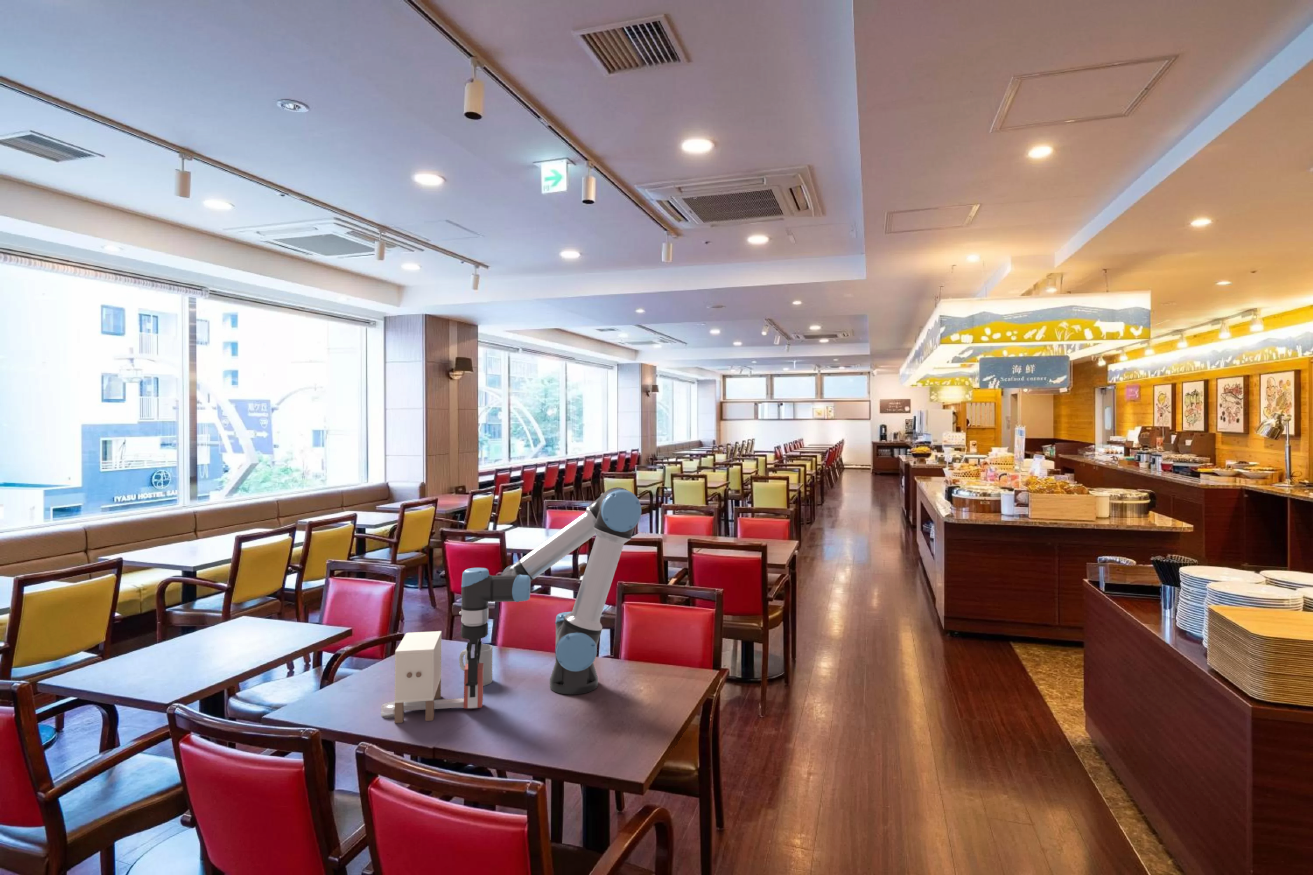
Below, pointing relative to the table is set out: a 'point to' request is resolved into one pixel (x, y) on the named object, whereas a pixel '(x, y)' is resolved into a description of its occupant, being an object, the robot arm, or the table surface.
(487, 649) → the mug
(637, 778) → the table surface
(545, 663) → the table surface
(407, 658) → the cabinet
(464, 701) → the red mallet
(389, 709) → the token
